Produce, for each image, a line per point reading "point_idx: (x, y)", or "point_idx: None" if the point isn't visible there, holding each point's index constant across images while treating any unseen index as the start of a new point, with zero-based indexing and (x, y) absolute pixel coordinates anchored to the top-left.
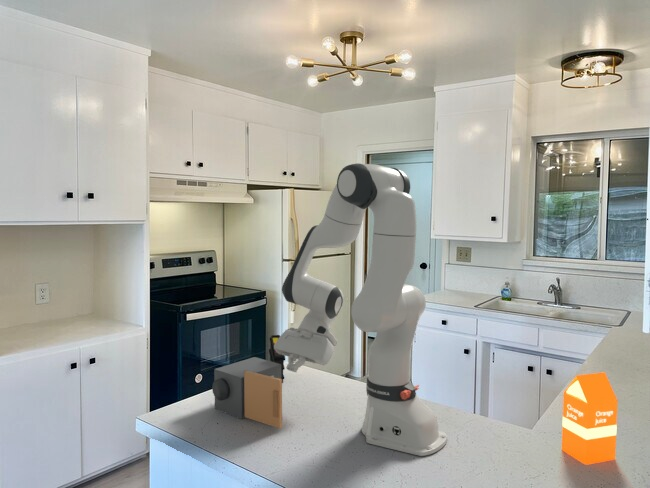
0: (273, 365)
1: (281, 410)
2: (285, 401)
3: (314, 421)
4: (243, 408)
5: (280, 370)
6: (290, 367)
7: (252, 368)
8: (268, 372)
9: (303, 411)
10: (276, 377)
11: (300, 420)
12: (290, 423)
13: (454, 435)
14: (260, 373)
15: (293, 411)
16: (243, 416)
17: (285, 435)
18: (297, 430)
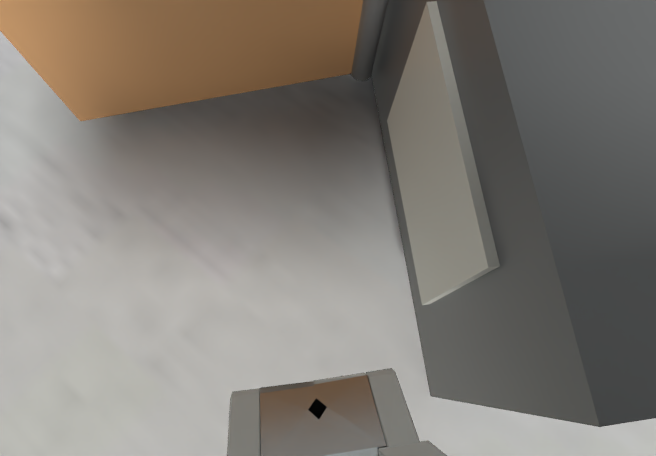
0: (614, 290)
1: (25, 53)
2: (433, 437)
3: (16, 357)
4: (381, 39)
5: (545, 399)
6: (308, 391)
7: (647, 21)
8: (501, 171)
9: (195, 415)
10: (497, 327)
11: (103, 297)
12: (121, 223)
13: None
14: (479, 40)
15: (247, 359)
16: (373, 69)
17: (31, 109)
18: (18, 192)
